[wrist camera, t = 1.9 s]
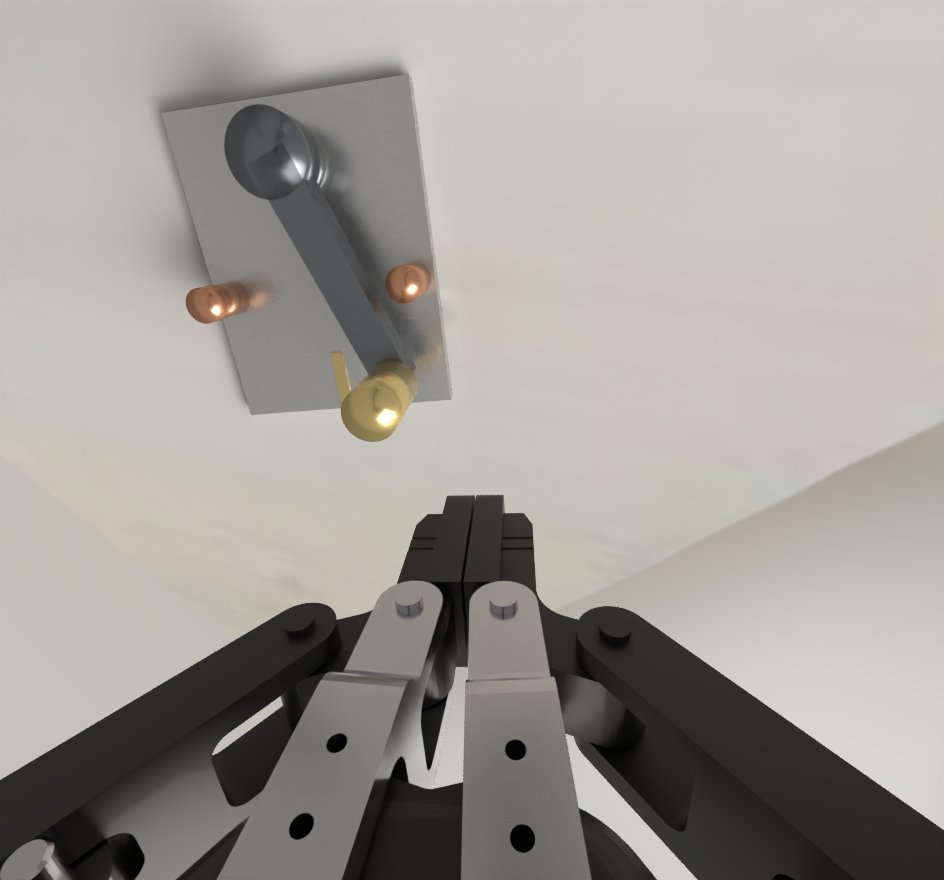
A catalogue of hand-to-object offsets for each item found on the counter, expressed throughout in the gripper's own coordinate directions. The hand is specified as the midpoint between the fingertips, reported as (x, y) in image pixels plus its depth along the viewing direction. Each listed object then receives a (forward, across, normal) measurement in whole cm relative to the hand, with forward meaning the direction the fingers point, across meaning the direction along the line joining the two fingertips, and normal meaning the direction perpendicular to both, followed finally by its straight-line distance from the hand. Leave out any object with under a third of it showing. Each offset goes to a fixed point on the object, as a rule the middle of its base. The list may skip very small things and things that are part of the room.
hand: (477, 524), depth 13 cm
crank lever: (+16, +8, -6) cm, 18 cm away
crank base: (+18, +10, -6) cm, 21 cm away
